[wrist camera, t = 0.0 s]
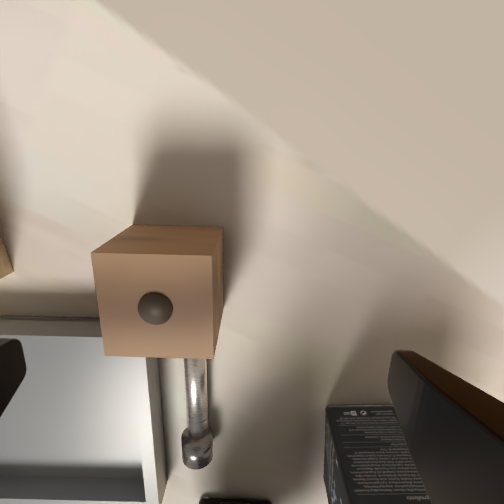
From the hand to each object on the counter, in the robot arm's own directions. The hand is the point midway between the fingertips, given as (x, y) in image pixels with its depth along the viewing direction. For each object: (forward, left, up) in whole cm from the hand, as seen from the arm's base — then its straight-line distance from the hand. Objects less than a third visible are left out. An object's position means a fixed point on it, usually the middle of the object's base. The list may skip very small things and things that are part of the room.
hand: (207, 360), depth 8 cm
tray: (-15, +14, -15) cm, 25 cm away
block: (-3, +4, -15) cm, 16 cm away
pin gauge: (-12, +3, -15) cm, 19 cm away
